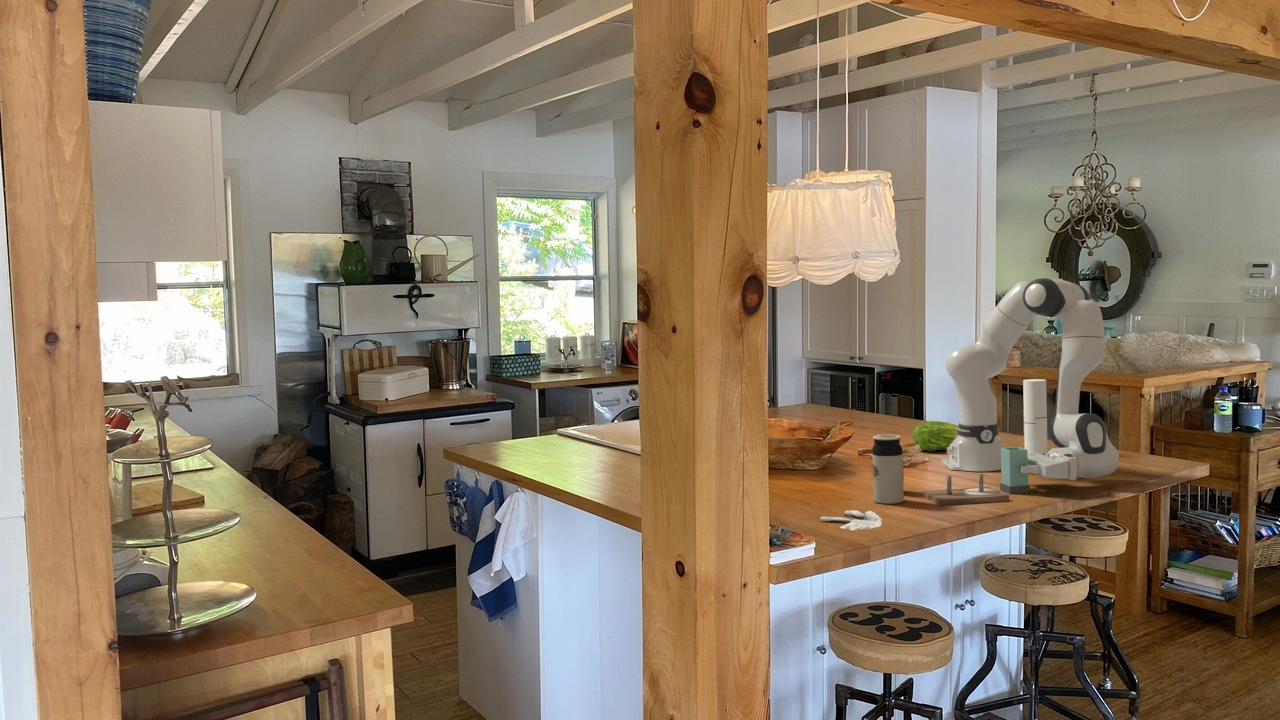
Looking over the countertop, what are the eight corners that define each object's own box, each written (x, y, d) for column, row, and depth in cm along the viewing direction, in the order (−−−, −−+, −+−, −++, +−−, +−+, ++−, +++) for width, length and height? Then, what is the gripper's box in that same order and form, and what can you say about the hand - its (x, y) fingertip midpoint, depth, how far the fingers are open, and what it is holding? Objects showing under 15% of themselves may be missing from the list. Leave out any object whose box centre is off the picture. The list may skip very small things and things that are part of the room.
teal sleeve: (1000, 490, 279) (999, 447, 278) (1019, 488, 279) (1019, 446, 278) (1009, 494, 273) (1008, 451, 272) (1029, 492, 273) (1029, 449, 272)
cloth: (856, 536, 237) (856, 526, 237) (791, 521, 255) (791, 512, 255) (911, 521, 249) (911, 512, 249) (846, 509, 267) (845, 500, 267)
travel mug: (901, 498, 274) (899, 433, 273) (906, 504, 266) (904, 438, 265) (872, 498, 275) (870, 434, 274) (875, 504, 267) (873, 438, 266)
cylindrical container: (1049, 455, 328) (1048, 380, 327) (1026, 455, 330) (1025, 381, 328) (1045, 452, 335) (1043, 378, 334) (1023, 452, 337) (1021, 379, 335)
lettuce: (991, 435, 344) (975, 411, 354) (929, 437, 338) (914, 412, 347) (978, 460, 351) (962, 435, 361) (918, 462, 345) (903, 437, 354)
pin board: (923, 496, 275) (922, 473, 274) (989, 492, 276) (988, 469, 276) (940, 505, 263) (939, 481, 262) (1009, 500, 264) (1008, 476, 264)
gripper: (1041, 446, 287) (995, 449, 286) (1078, 458, 266) (1029, 461, 265) (1041, 468, 287) (995, 471, 286) (1079, 481, 267) (1030, 484, 266)
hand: (1012, 466), depth 275 cm, fingers open, 8 cm apart
